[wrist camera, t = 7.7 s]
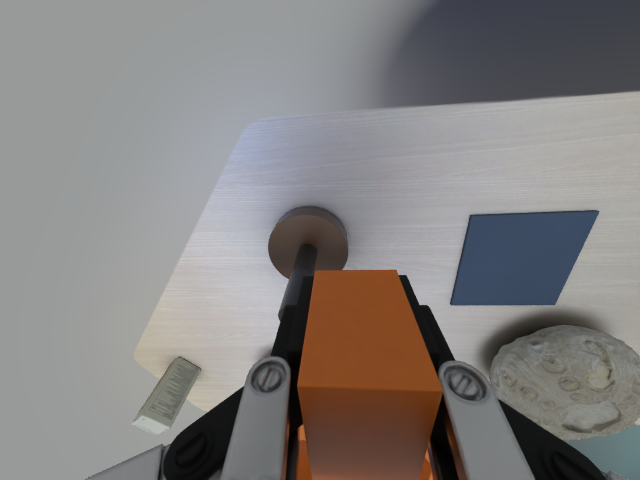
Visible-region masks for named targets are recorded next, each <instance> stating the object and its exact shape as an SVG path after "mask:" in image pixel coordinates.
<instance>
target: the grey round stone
mask: <svg viewBox="0 0 640 480" xmlns="http://www.w3.org/2000/svg"><path fill="white" fill-rule="evenodd" d="M490 382H491V387H492V389H493V391H494V393H495V395H496V397H497V398H498V399H500V400H501V401H503V402H504V403H506V404H507V405H509V406H510V407H512V408H513V409H515V410H516V411H518V412H520V413H521V414H523V415H524V416H526V417H527V418H529V419H530V420H532V421H533V422H535V423H536V424H538V425H540V426H541V427H543V428H544V429H546V430H547V431H549V432H550V433H552V434H553V435H555V436H556V437H558V438H559V439H566V440H567V441H570V440H571V439H576V440H579V439H582V438H590V437H592V436H593V437H596V436H599V435H601V436H604V437H606V436H607V434H615V433H618V432H620V431H622V430H624V429H628V426H636V425H635V421H636V420H637V419H638V418H639V417H640V357H639V355H638V354H637V353H636V352H635V351H634V350H633V349H632V348H630V347H629V346H627V345H626V344H625V343H624V342H623V341H621V340H618V339H616V338H614V337H612V336H611V335H609V334H606V333H603V332H600V331H596V330H593V329H588V328H585V327H580V326H571V325H558V326H554V327H548V328H544V329H541V330H538V331H536V332H535V333H533V334H530V335H527V336H524V337H520V338H516V339H515V340H514V342H512V343H510V344H507V345H503V346H502V347H501V348H500V350H499V351H498V354H497V355H496V356H495V357H494V358H493V362H492V365H491V368H490Z"/></svg>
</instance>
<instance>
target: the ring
mask: <svg viewBox="0 0 640 480" xmlns="http://www.w3.org/2000/svg"><path fill="white" fill-rule="evenodd" d="M297 388H298V394H299V400H300V406H301V412H302V419H303V425H301V426H300V442H299V466H298V480H433V476H432V470H431V465H430V460H429V454H428V449H427V447H428V444H429V440H430V436H431V433H432V429H433V426H434V422H435V418H436V415H437V411H438V408H439V404H440V400H441V397H442V393H443V389H442V387H441V384H440V381H439V379H438V376H437V374H436V371H435V369H434V366H433V363H432V361H431V358H430V356H429V353H428V350H427V348H426V345H425V343H424V340H423V338H422V335H421V332H420V330H419V327H418V325H417V322H416V319H415V317H414V314H413V312H412V309H411V307H410V304H409V301H408V299H407V296H406V294H405V291H404V288H403V286H402V283H401V281H400V278H399V276H398V273H397V270H324V271H315V275H314V281H313V288H312V294H311V300H310V307H309V313H308V320H307V326H306V332H305V339H304V345H303V351H302V358H301V364H300V370H299V377H298V383H297ZM304 439H306V441H305V440H304Z"/></svg>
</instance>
